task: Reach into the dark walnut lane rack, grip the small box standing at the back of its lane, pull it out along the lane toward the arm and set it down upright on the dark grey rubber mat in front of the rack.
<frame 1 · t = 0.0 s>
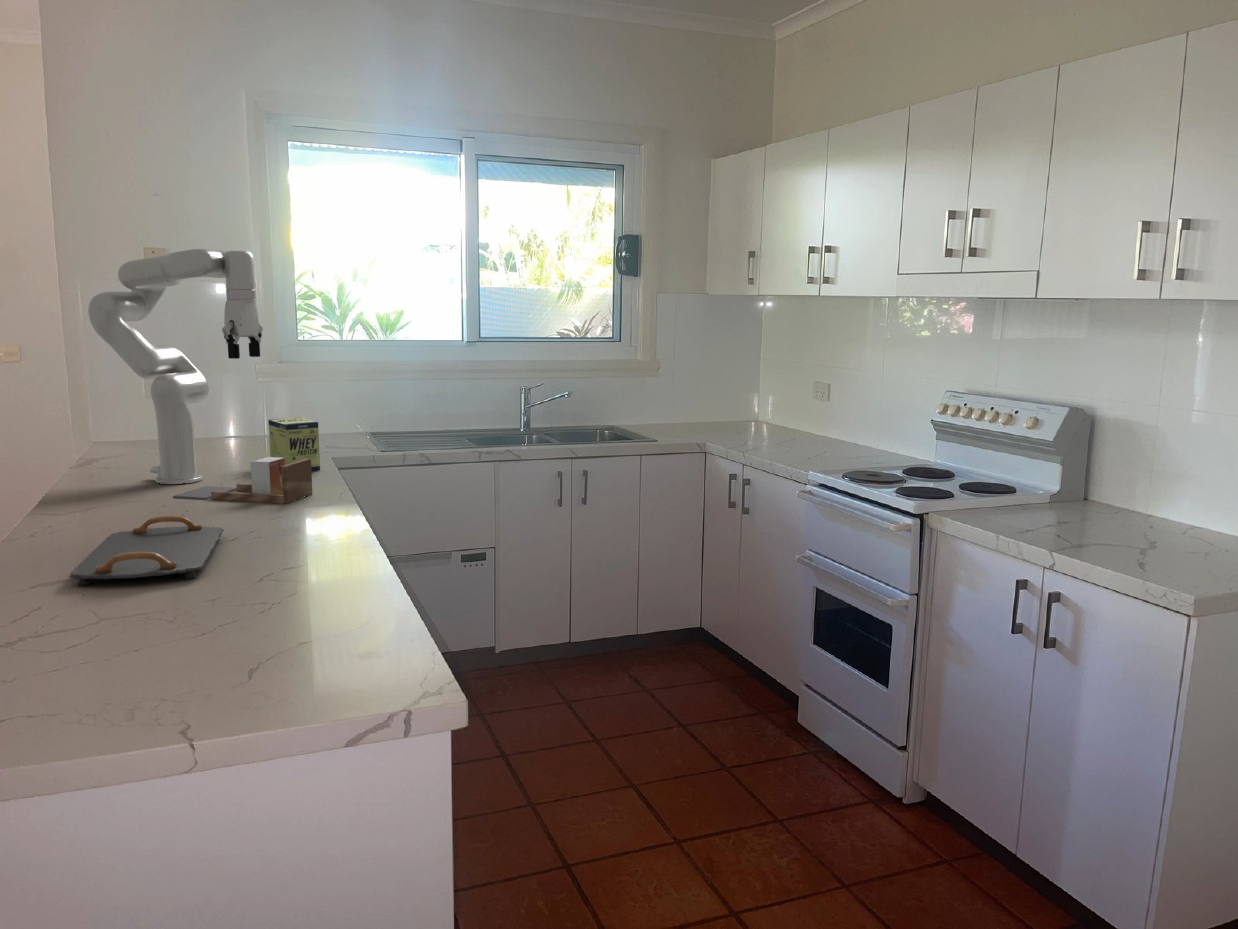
hand: (244, 357, 258), 37 cm above the worktop, tool pointing down, fingers open, 9 cm apart
protein box: (295, 469, 291), on the worktop
serving board: (155, 563, 187), on the worktop
lane rack: (258, 496, 249), on the worktop
small box: (270, 498, 248), resting in lane rack
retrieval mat: (206, 493, 252), on the worktop
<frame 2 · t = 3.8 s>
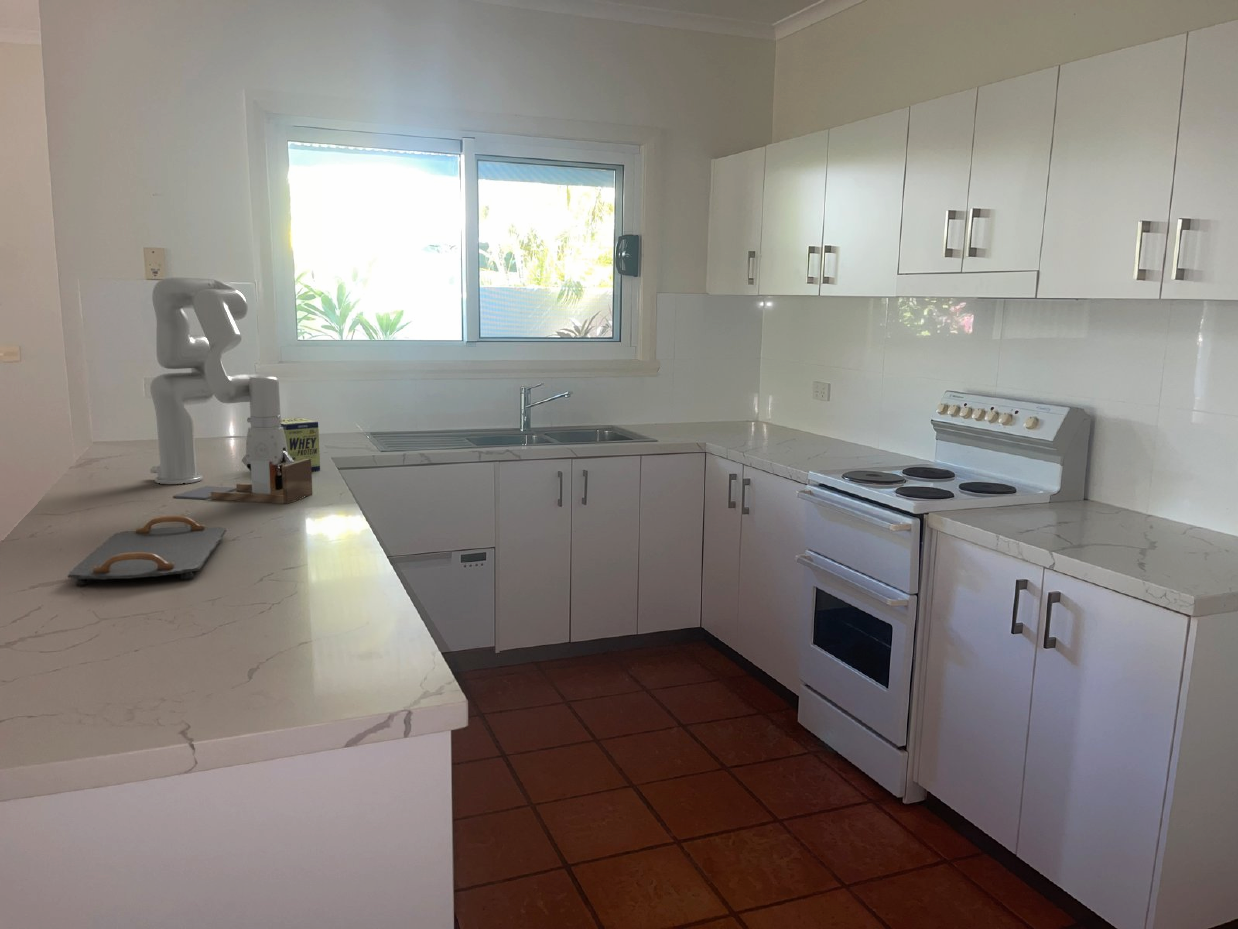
hand: (269, 488, 248), 3 cm above the worktop, tool pointing down, fingers closed on small box, 5 cm apart
small box: (270, 498, 248), resting in lane rack, touching gripper
everything else where it was.
when the fingers open (3 cm above the worktop, at t = 9.2 s): small box stays where it is, resting on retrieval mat.
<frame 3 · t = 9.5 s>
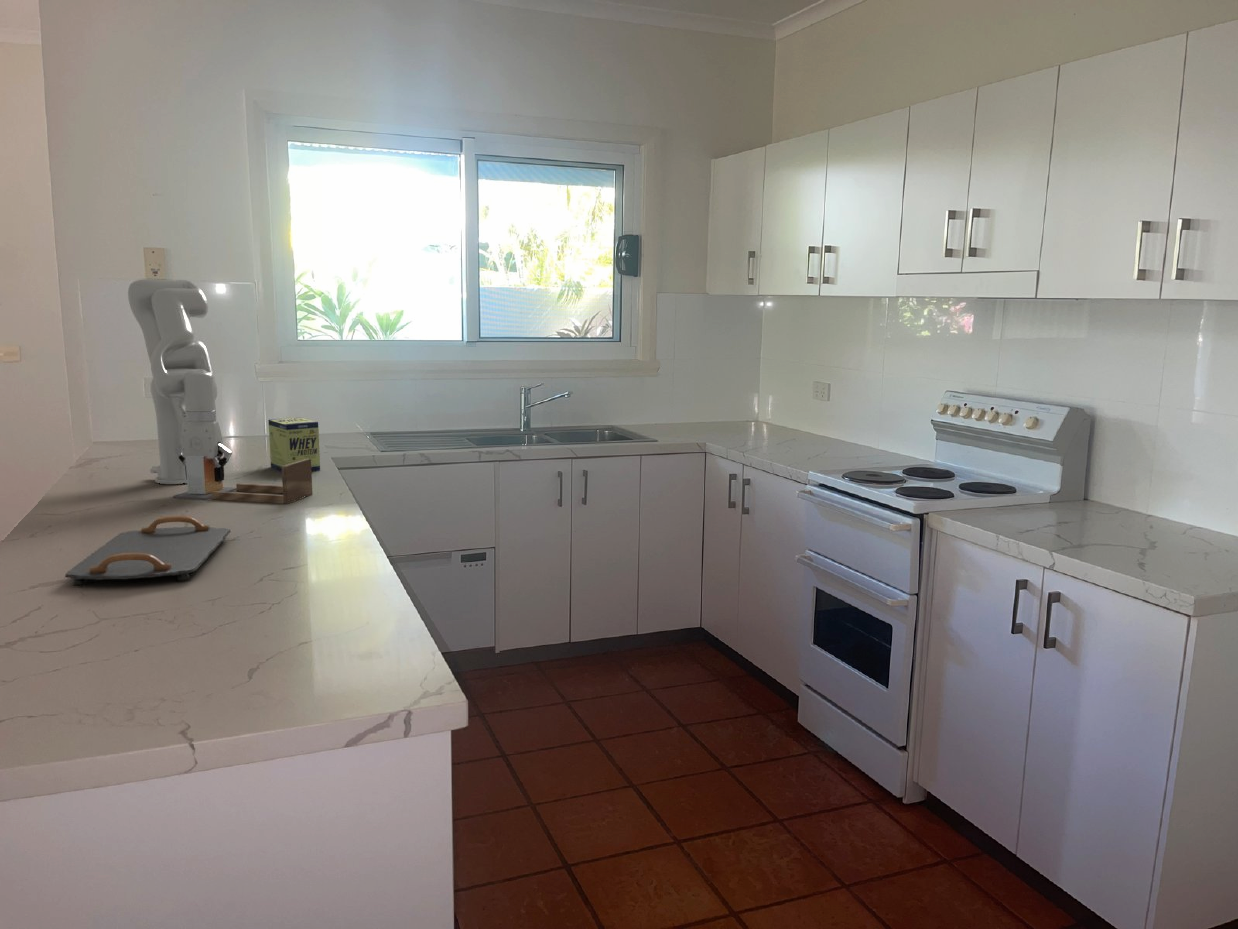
hand: (205, 479, 251), 4 cm above the worktop, tool pointing down, fingers open, 8 cm apart
small box: (205, 492, 252), resting on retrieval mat
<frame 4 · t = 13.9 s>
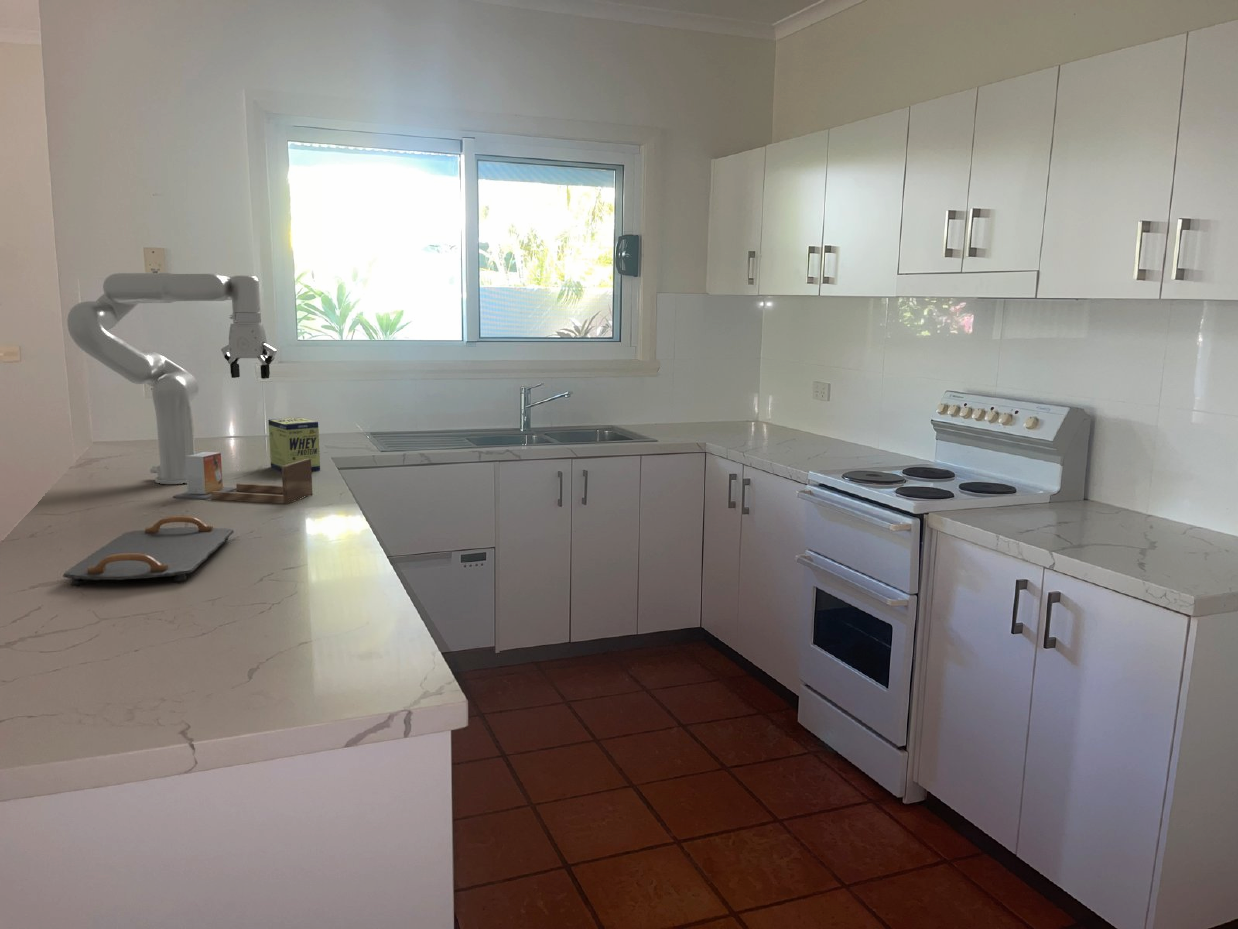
hand: (250, 377, 268), 30 cm above the worktop, tool pointing down, fingers open, 9 cm apart
at the end: small box inside the target area on the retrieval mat (0.2 cm from its centre), point 0.3 cm above the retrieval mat's base; small box tilted 0°; the gripper is holding nothing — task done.
